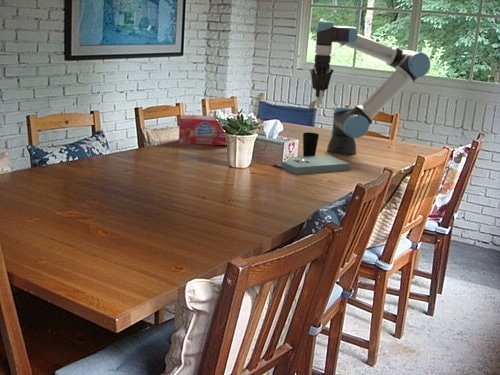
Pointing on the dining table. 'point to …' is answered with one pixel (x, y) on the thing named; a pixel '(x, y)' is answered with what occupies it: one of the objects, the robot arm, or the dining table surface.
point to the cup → (310, 144)
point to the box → (200, 130)
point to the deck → (315, 164)
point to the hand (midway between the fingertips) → (318, 103)
